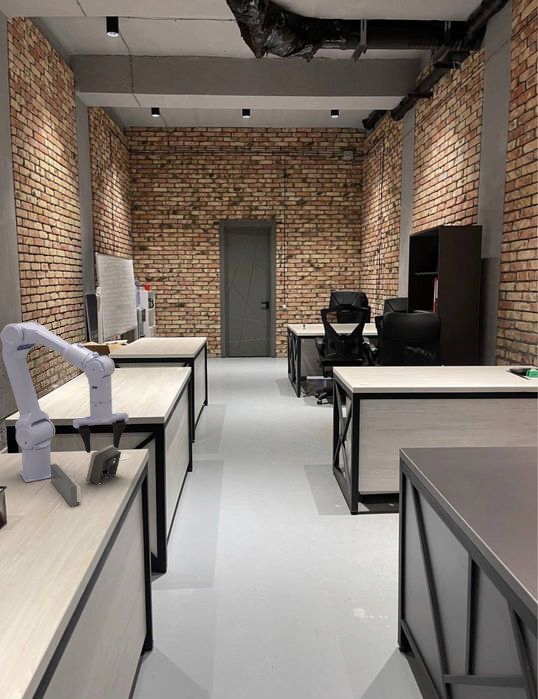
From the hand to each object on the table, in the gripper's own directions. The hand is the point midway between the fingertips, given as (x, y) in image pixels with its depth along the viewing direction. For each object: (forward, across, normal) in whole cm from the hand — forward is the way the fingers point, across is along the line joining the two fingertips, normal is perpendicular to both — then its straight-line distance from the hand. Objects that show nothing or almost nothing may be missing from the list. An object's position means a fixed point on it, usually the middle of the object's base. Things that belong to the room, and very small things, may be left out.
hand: (102, 449), depth 146 cm
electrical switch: (+10, +1, +3) cm, 11 cm away
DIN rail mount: (+10, -11, -1) cm, 15 cm away
